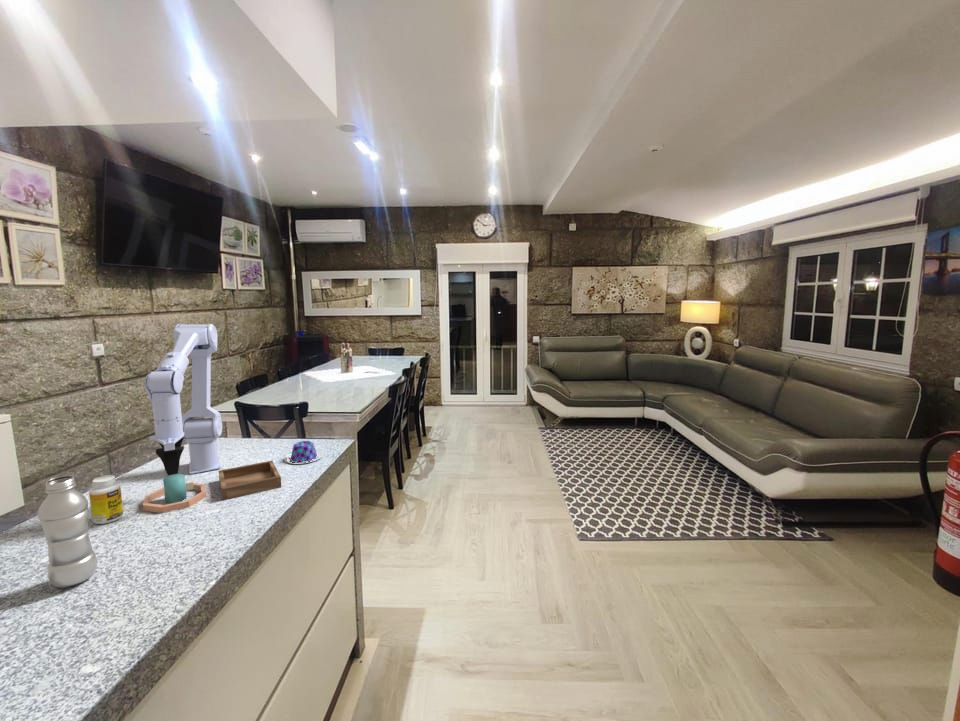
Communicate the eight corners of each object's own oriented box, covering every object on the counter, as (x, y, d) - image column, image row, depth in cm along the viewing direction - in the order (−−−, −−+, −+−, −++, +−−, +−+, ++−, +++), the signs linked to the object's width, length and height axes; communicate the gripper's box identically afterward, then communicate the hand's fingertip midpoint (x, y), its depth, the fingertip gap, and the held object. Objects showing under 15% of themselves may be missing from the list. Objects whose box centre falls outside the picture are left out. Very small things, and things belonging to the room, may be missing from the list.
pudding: (277, 466, 133) (276, 450, 132) (292, 452, 144) (291, 437, 144) (316, 465, 133) (316, 449, 132) (328, 451, 145) (327, 437, 144)
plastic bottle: (107, 573, 81) (94, 474, 78) (63, 597, 74) (46, 490, 71) (85, 566, 83) (72, 469, 80) (40, 588, 76) (24, 484, 73)
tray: (219, 480, 121) (218, 470, 121) (272, 469, 129) (272, 460, 128) (222, 500, 110) (222, 489, 109) (281, 487, 118) (280, 476, 117)
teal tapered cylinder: (165, 498, 110) (163, 476, 109) (194, 492, 114) (192, 471, 113) (165, 505, 107) (162, 483, 106) (194, 499, 110) (192, 477, 109)
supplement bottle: (111, 525, 97) (105, 483, 96) (86, 525, 97) (80, 483, 96) (130, 512, 103) (125, 473, 101) (106, 512, 103) (101, 473, 101)
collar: (146, 495, 111) (145, 490, 111) (204, 484, 119) (204, 479, 118) (142, 517, 101) (141, 511, 101) (206, 503, 108) (206, 497, 108)
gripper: (149, 413, 110) (155, 462, 112) (145, 428, 98) (151, 483, 100) (182, 409, 114) (187, 457, 116) (182, 423, 102) (187, 476, 104)
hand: (173, 468), depth 108 cm, fingers open, 7 cm apart
